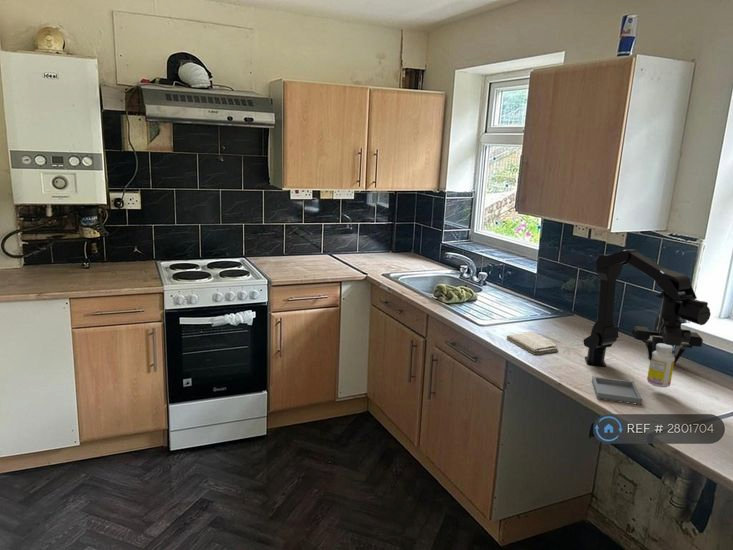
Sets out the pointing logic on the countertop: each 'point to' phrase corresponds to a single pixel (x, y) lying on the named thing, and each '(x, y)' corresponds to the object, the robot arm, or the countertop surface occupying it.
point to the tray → (616, 390)
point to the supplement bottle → (661, 366)
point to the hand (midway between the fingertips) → (661, 361)
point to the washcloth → (533, 343)
